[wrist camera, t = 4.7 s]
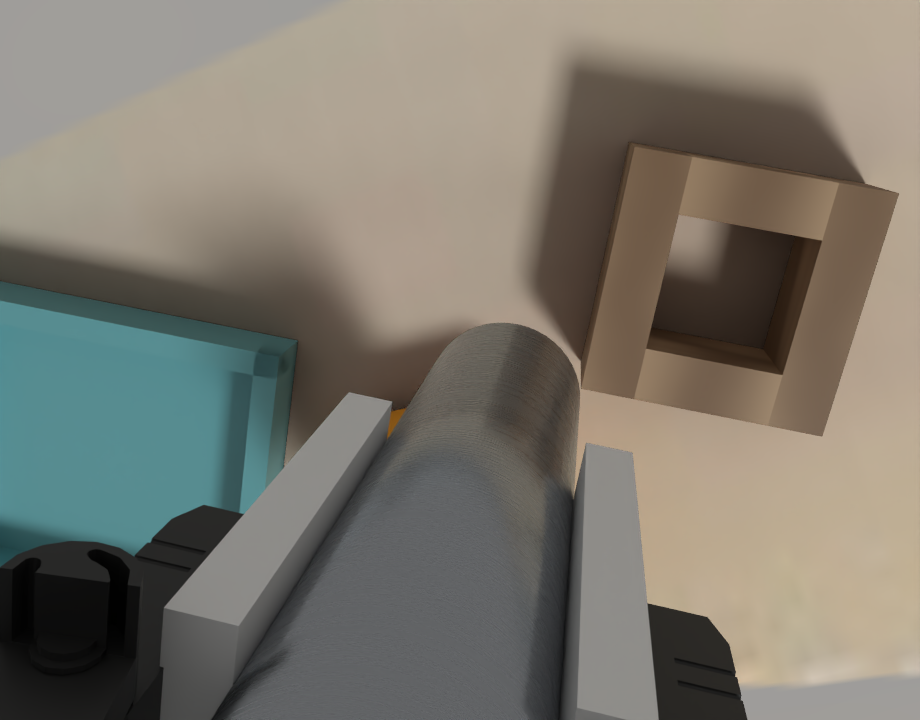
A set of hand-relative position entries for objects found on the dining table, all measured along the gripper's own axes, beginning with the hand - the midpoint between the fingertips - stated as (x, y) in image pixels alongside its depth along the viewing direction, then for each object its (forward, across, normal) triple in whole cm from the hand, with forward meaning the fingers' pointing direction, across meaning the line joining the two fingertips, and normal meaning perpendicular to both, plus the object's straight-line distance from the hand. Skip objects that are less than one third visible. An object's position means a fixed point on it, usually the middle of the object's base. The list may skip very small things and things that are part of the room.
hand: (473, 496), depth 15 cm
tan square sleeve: (+22, +7, +1) cm, 23 cm away
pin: (+5, 0, 0) cm, 5 cm away
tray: (+21, -17, -12) cm, 30 cm away
